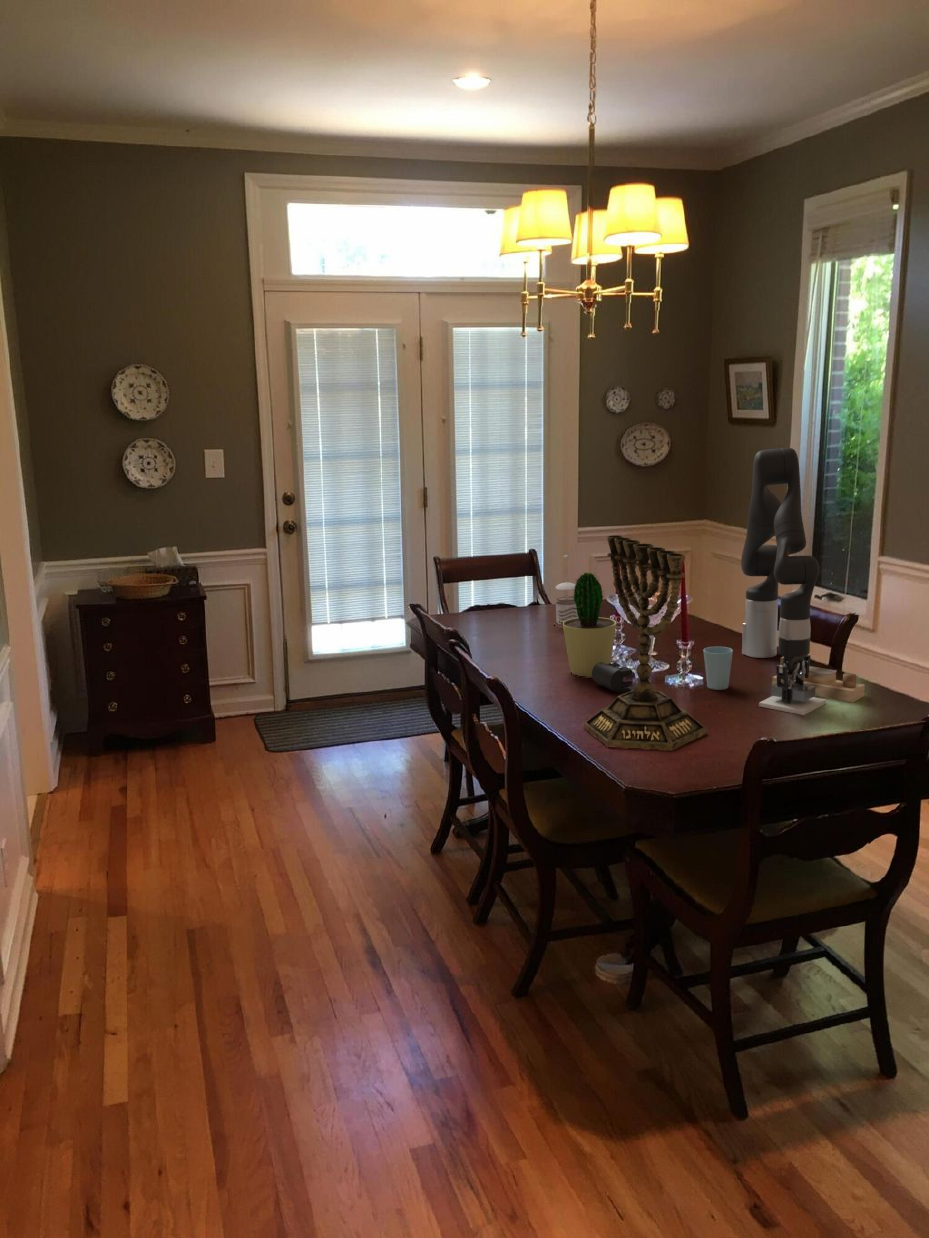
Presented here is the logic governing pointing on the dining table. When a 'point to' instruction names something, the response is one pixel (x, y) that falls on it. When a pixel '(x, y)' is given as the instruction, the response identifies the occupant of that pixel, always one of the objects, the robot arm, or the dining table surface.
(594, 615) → the potted cactus
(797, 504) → the robot arm
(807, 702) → the bench mat
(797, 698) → the lever cap
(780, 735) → the dining table surface
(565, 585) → the french press
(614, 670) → the end cap
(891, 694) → the dining table surface
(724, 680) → the cup
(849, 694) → the plane body
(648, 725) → the menorah
